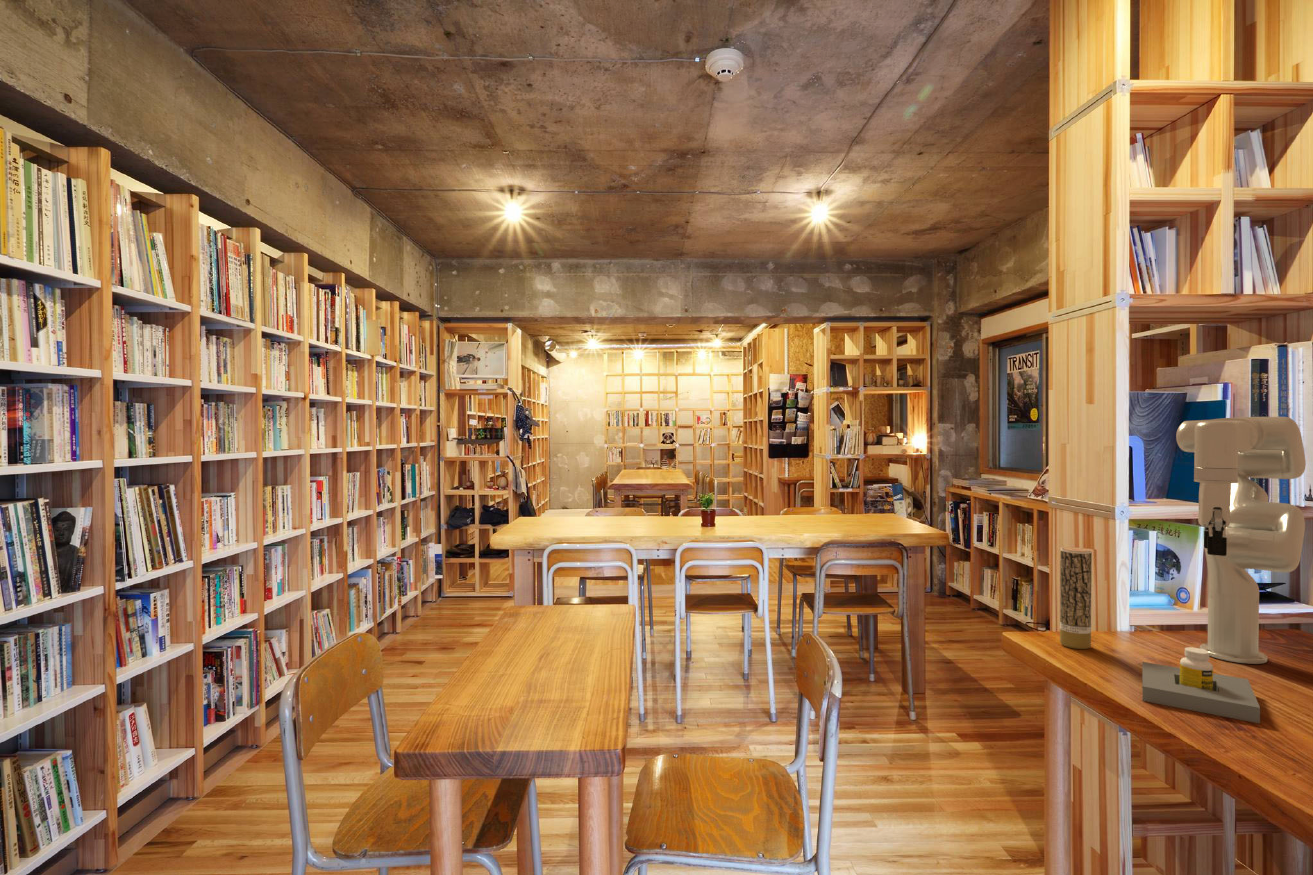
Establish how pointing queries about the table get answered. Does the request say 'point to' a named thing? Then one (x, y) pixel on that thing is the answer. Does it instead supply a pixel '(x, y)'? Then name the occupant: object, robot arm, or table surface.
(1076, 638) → the paper tube
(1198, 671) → the supplement bottle
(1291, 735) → the table surface
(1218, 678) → the socket board
